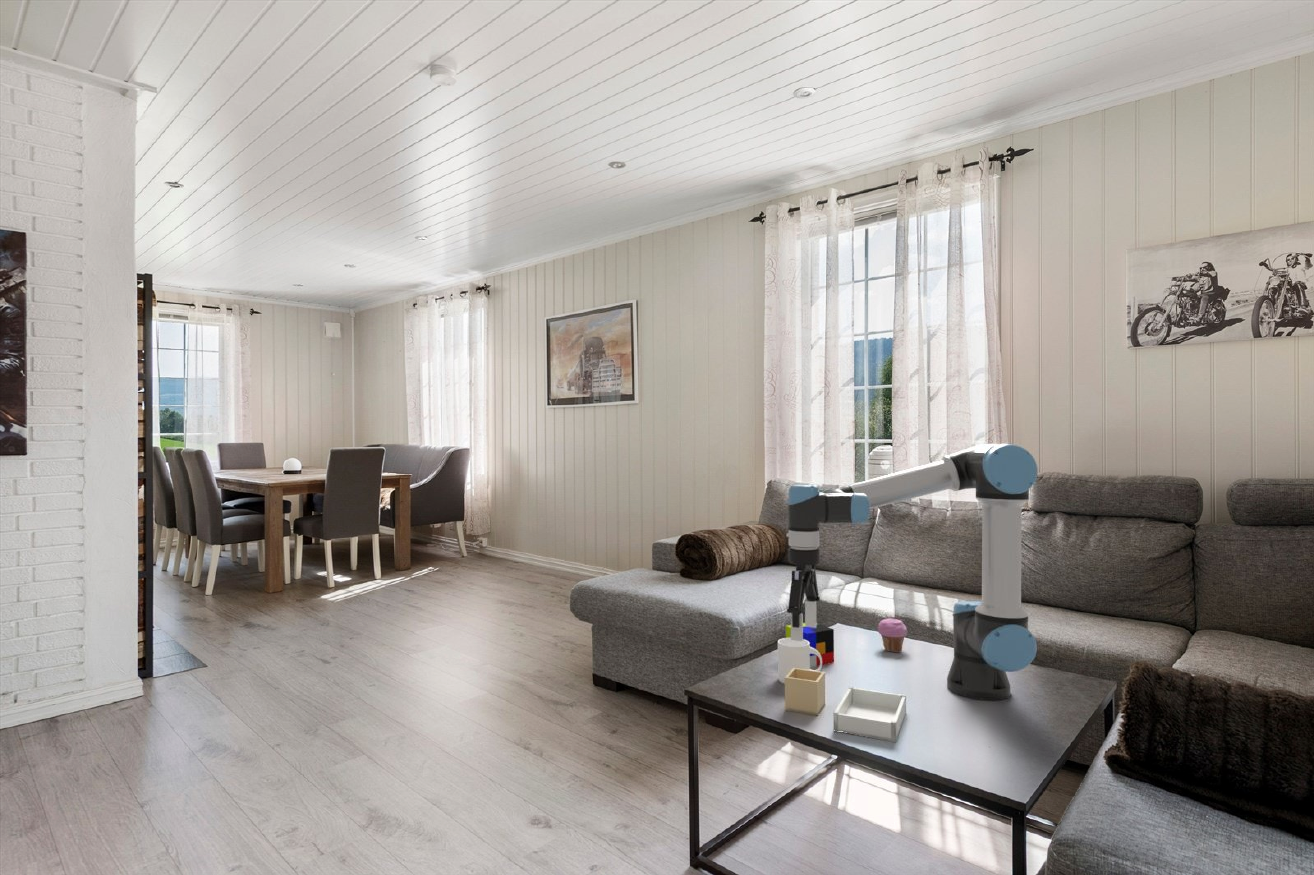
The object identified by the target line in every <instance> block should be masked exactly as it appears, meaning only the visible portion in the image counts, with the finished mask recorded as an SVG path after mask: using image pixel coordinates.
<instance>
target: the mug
mask: <svg viewBox="0 0 1314 875" xmlns="http://www.w3.org/2000/svg"><path fill="white" fill-rule="evenodd" d="M810 654H815V655H817V656H818V657H819V659H820V662H821V664H820V666H818V668H817V669H815V670H814V669H811V667H810ZM822 666H823V665H822V657H821V655H820V653H819V652H818V651H817V650H816V649H814V648H812V647H810V643H809V641H807V640H804V639H803V641H795V640H791V638H786V637H783V638H780V639H778V640H777V678H778V681H779V682H780V683H782V684H783V685H785V677H786V676H787V674H788V673H789V672H790V671H791V670H792V669H793V668H798V669H806V670H813V671H820V672H821V669H822Z"/></svg>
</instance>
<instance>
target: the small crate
mask: <svg viewBox="0 0 1314 875" xmlns="http://www.w3.org/2000/svg"><path fill="white" fill-rule="evenodd" d="M813 670H814V669H811V670H806V669H798V668H793V669H792V670H791V671H790V672H789V673H788V674H787V676H786V677H785V684H784V710H785V711H786V710H788V712H792V711H795V712H794V713H798V712H799V713H800V714H804V713H808V714H807V715H810V714H812V716H816V715H817V717H818V716H819V715H818V714H820V713H821V712H822V710H823V709H822V708H824V707H826V706H825V705H826V672H825V671H821V670H820V671H813Z"/></svg>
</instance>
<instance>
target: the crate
mask: <svg viewBox="0 0 1314 875" xmlns="http://www.w3.org/2000/svg"><path fill="white" fill-rule="evenodd" d="M906 714H907V694H905V693H901V694H898V693H891V692H885V691H880V690H879V691H878V690H871V689H864V688H860V687H859V688H858V687H854V686H848V689H847V690H846V692H845V693H844V695H843V697H842V699H841V700H840V702H839V704H838V705H837V707H836V708H835V710H834V711H833V731H834V730H835V731H843V732H847V733H850V734H849V735H851V734H855V735H854V736H857V735H859V736H858V737H863V736H865V737H864V738H868V737H870V738H869V739H876V740H880V741H885V740H886V741H887V742H890V743H891V742H892V743H896V742H897V740H898V737H899V734H900V732H901V728H902V726H903V722H904V719H905V717H906ZM835 731H834V732H835Z"/></svg>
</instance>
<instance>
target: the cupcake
mask: <svg viewBox="0 0 1314 875" xmlns="http://www.w3.org/2000/svg"><path fill="white" fill-rule="evenodd" d="M877 631H878V632H877V633H879V635H880V636H881V638H882V645H883V648H884V649H885V651H886V652H887V651H888V652H895V653H900V652H902V650H903V644H904V641H905V640H904V639H905V638H906V636H907V635H908V628H907V627H906V625H905V624H904V622H903V621H902V620H900V619H898V618H897V619H896V618H885V619H882V620H881V621H880V622H879V623H878V626H877Z"/></svg>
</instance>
